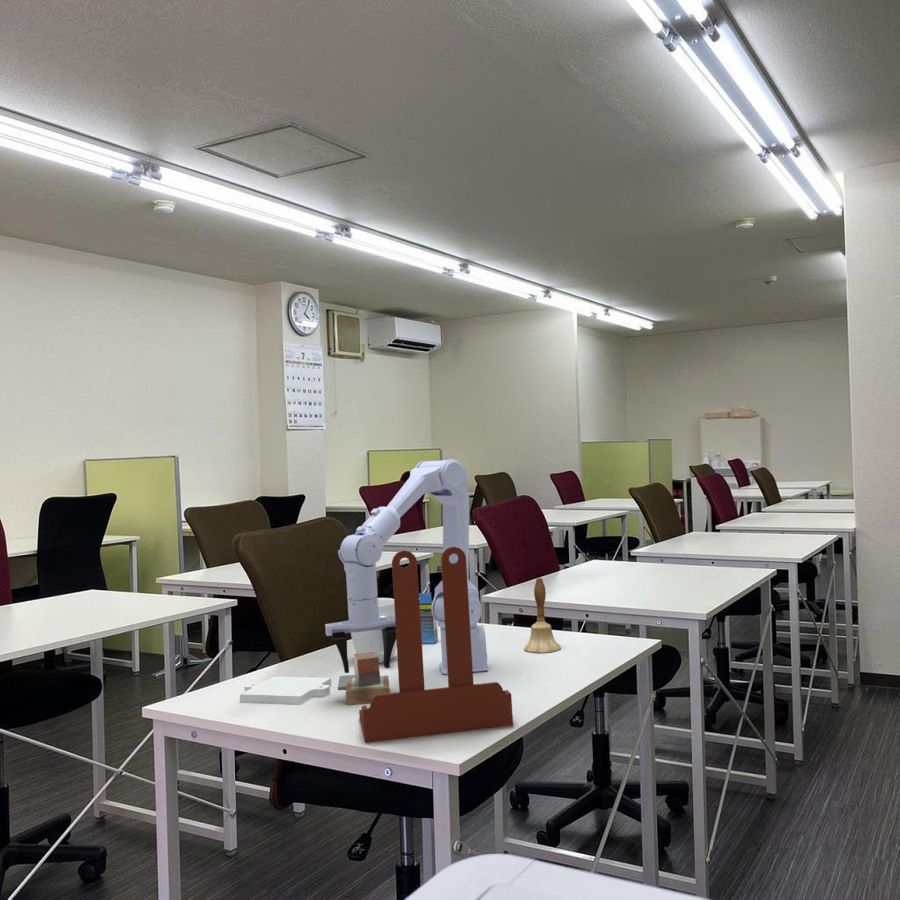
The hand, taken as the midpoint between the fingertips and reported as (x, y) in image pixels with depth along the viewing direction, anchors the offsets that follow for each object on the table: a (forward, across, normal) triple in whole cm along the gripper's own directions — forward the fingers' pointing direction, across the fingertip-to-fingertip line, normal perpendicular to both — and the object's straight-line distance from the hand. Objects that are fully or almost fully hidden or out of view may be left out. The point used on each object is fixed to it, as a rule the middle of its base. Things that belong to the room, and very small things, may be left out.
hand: (366, 669), depth 161 cm
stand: (+5, 0, 0) cm, 5 cm away
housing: (+2, 0, 0) cm, 2 cm away
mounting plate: (+6, +15, -9) cm, 18 cm away
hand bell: (+5, -42, -21) cm, 48 cm away
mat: (+5, 0, -11) cm, 12 cm away
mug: (+5, -6, -27) cm, 29 cm away
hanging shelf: (+6, -8, +20) cm, 23 cm away
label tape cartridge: (+5, -18, -42) cm, 46 cm away
